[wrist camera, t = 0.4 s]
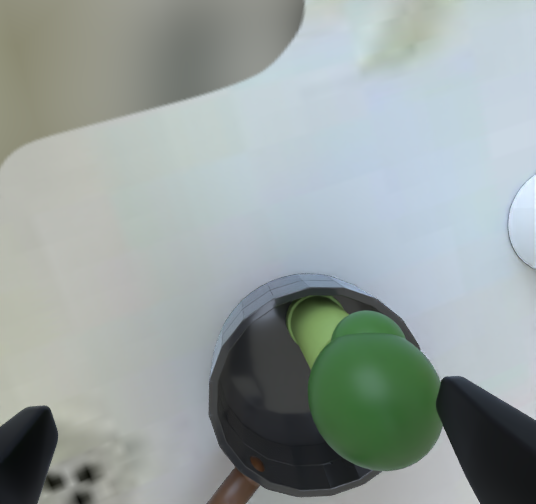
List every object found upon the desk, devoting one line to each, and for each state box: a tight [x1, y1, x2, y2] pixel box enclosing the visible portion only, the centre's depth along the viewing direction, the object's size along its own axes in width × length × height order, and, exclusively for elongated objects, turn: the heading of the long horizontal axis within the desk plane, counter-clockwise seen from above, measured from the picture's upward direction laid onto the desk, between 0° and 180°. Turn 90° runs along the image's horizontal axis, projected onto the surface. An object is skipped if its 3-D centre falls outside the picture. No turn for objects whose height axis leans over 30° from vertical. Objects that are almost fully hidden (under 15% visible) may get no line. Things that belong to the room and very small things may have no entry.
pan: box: [209, 274, 420, 497], centre depth 22 cm, size 13×13×4 cm
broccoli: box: [286, 296, 443, 471], centre depth 17 cm, size 6×5×13 cm
